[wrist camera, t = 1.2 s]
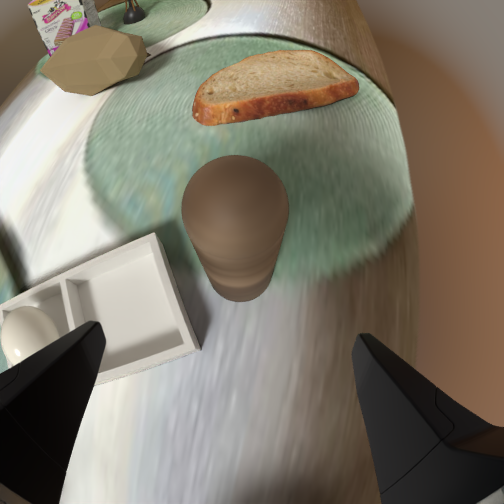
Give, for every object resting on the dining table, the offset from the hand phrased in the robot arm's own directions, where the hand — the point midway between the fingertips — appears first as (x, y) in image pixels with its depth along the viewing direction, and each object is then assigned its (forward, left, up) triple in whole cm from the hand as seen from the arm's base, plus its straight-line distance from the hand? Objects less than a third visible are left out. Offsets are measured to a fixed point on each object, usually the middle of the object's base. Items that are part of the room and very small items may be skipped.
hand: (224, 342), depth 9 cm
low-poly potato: (+38, +4, -12) cm, 40 cm away
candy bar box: (+59, +10, -13) cm, 61 cm away
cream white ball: (+6, +16, -12) cm, 20 cm away
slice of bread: (+24, -16, -13) cm, 32 cm away
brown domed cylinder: (+6, -3, -12) cm, 14 cm away
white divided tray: (+6, +11, -12) cm, 18 cm away
